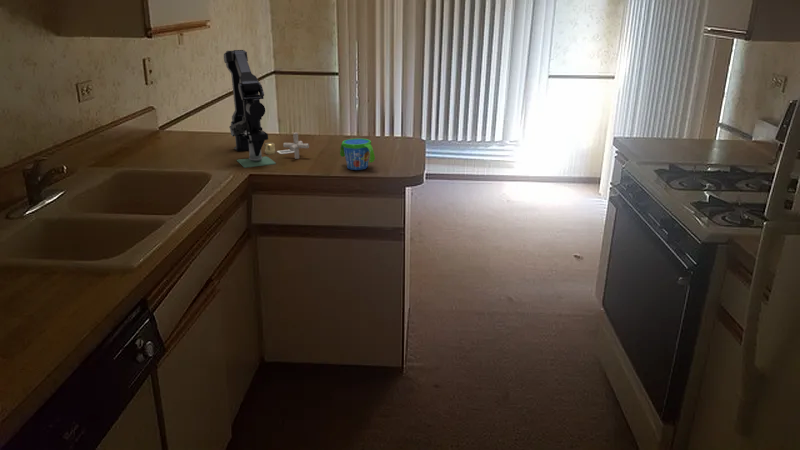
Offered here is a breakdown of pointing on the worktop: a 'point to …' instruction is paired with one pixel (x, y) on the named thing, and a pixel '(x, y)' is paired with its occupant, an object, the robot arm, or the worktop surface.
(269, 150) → the brass fitting
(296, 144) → the pipe connector
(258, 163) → the mat
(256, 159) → the cylinder
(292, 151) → the label tile
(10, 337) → the worktop surface
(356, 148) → the snack cup
